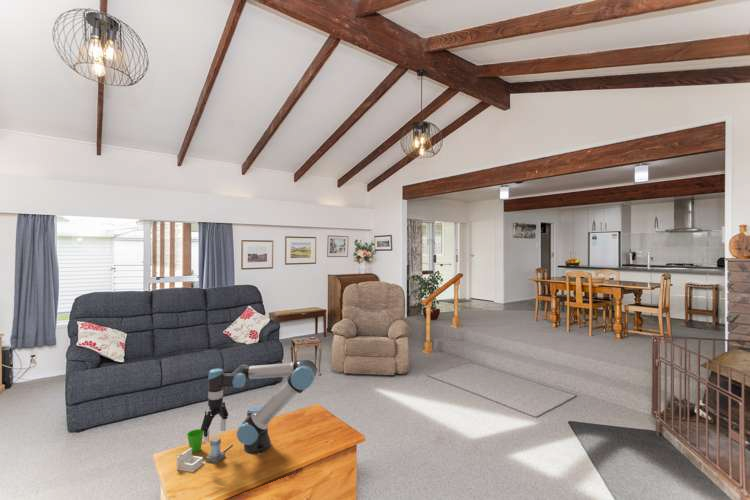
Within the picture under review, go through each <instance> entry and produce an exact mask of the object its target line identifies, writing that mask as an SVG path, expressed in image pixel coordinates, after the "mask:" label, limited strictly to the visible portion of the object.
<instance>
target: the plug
mask: <svg viewBox="0 0 750 500" xmlns="http://www.w3.org/2000/svg"><path fill="white" fill-rule="evenodd" d="M221 443H222V438H221V437H220V438H218V437H214V438H212V439H211V440H209V446H210V454H211V457H212V458H217V457H219V456H220V452H221Z"/></svg>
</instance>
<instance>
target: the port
mask: <svg viewBox="0 0 750 500" xmlns="http://www.w3.org/2000/svg"><path fill="white" fill-rule="evenodd" d="M204 464H206V461H204V457H203V456H198V455H197V456H196V455H193V453H192V448H190V447H189V448H188V449H187V450H185V451H184V452H183V453H180V454H178V456H176V471H177V470H178V471H183V472H184V471H185V472H189V473H194V472H195V471H196V470H198V469H199V468H200V467H202V466H203V465H204Z"/></svg>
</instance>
